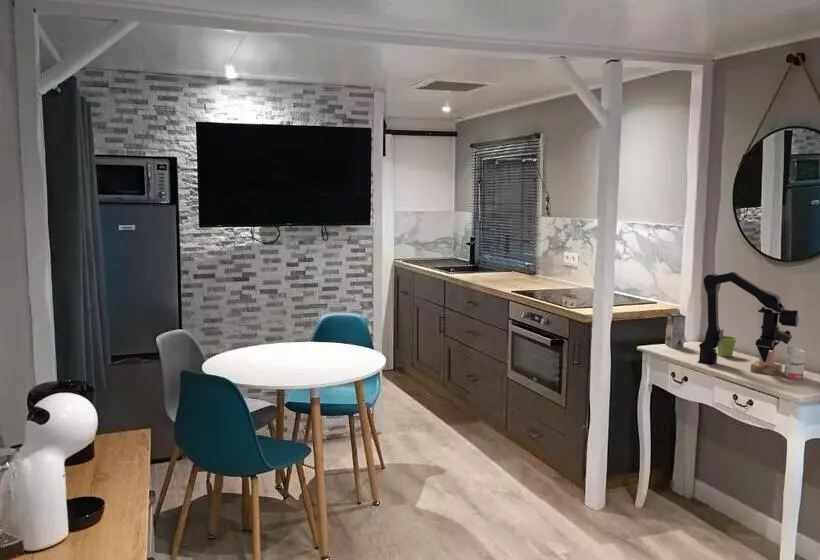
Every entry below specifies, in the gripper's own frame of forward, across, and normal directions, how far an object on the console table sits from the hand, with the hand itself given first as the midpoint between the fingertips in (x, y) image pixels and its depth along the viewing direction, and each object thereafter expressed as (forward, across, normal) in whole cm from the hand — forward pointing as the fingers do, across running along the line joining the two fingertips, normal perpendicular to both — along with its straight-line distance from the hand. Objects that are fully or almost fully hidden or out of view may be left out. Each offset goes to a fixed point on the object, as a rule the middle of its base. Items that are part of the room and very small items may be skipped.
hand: (766, 360), depth 301 cm
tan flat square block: (+5, 0, 0) cm, 5 cm away
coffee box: (+5, +26, +47) cm, 54 cm away
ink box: (+5, -3, -11) cm, 13 cm away
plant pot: (+5, +21, +22) cm, 31 cm away
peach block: (+2, 0, 0) cm, 2 cm away
